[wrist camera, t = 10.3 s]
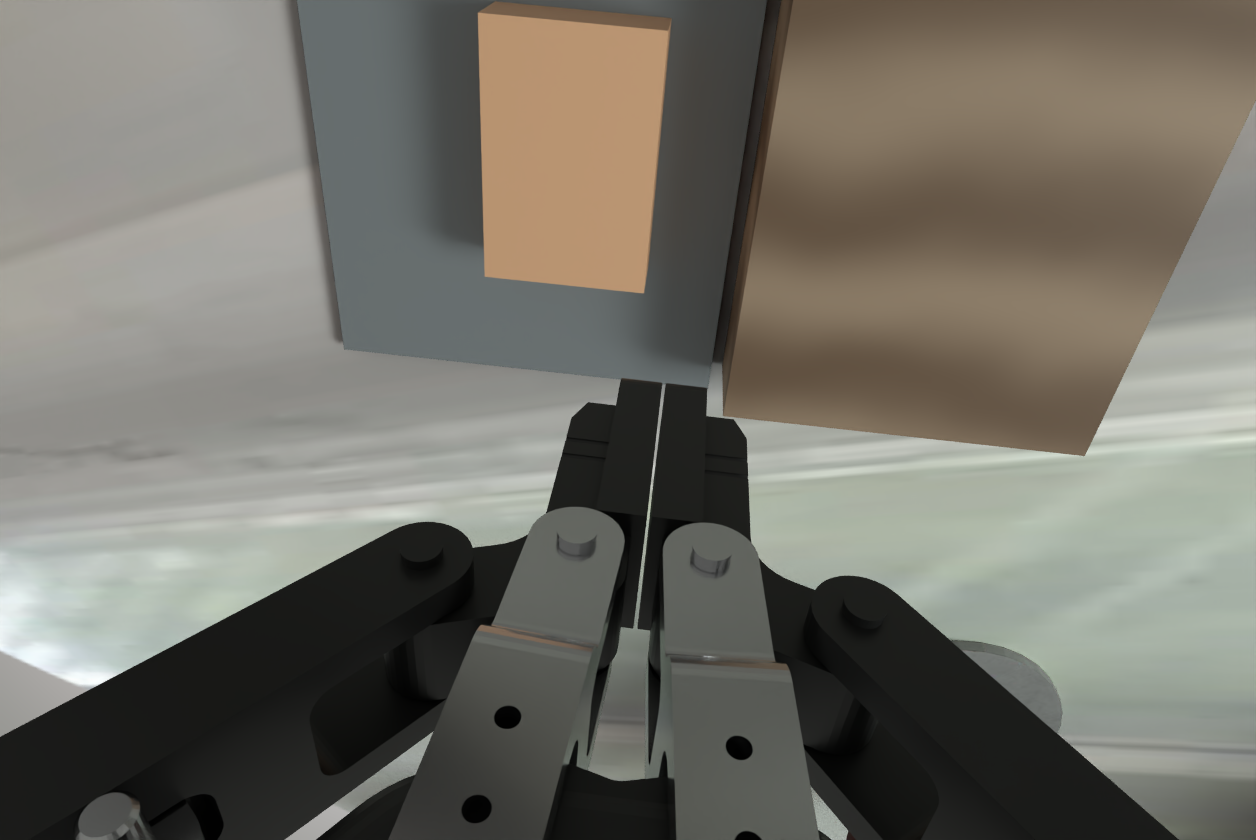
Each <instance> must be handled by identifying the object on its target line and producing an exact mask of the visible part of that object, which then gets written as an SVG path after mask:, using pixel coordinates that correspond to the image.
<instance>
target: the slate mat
mask: <svg viewBox="0 0 1256 840" xmlns="http://www.w3.org/2000/svg"><path fill="white" fill-rule="evenodd" d="M495 1H496V2H507V3H517V4H528V5H538V6H549V7H559V8H570V9H580V10H591V11H601V12H612V13H622V14H633V15H643V16H654V17H664V18H672V20H671V30H670V41H669V52H668V62H667V73H666V84H665V94H664V105H663V115H662V126H661V137H660V147H659V158H658V169H657V179H656V190H655V201H654V211H653V222H652V232H651V243H650V254H649V264H648V271H647V277H646V284H645V290H644V293H634V292H625V291H615V290H606V289H596V288H587V287H577V286H568V285H558V284H549V283H539V282H530V281H520V280H511V279H501V278H492V277H485V271H484V232H483V193H482V154H481V116H480V77H479V38H478V12H480V11H481V10H483V9H484V8H486V7H487V6H489V5H490V4H492V3H494V2H495ZM766 4H767V0H297V5H298V12H299V20H300V27H301V34H302V42H303V49H304V57H305V64H306V71H307V79H308V86H309V94H310V101H311V108H312V116H313V123H314V130H315V138H316V145H317V153H318V160H319V167H320V175H321V182H322V190H323V197H324V204H325V212H326V219H327V227H328V234H329V241H330V249H331V256H332V264H333V271H334V278H335V286H336V293H337V301H338V308H339V315H340V323H341V330H342V338H343V345H344V349H347V350H356V351H365V352H374V353H384V354H393V355H402V356H411V357H420V358H429V359H438V360H447V361H457V362H466V363H475V364H484V365H493V366H502V367H511V368H520V369H530V370H539V371H548V372H557V373H566V374H575V375H584V376H593V377H603V378H612V379H621V378H627V379H636V380H644V381H653V382H661V383H662V384H666V383H671V384H679V385H688V386H696V387H705V388H707V389H708V384H709V377H710V371H711V364H712V358H713V351H714V345H715V338H716V332H717V325H718V318H719V312H720V305H721V299H722V292H723V286H724V279H725V272H726V266H727V259H728V253H729V246H730V240H731V233H732V227H733V220H734V213H735V207H736V200H737V194H738V187H739V181H740V174H741V168H742V161H743V154H744V148H745V141H746V135H747V128H748V122H749V115H750V109H751V102H752V95H753V89H754V82H755V76H756V69H757V63H758V56H759V50H760V43H761V36H762V30H763V23H764V17H765V10H766Z"/></svg>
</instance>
